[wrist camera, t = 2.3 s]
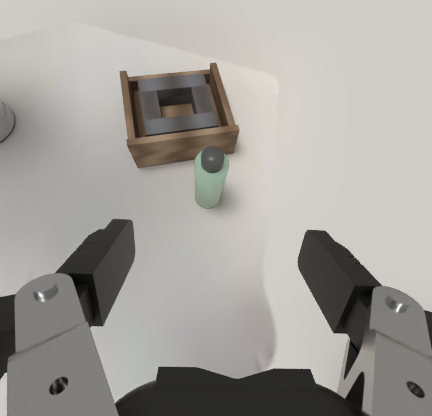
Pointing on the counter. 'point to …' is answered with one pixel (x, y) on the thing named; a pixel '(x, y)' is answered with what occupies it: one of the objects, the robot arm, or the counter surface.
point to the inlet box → (176, 116)
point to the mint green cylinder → (210, 176)
